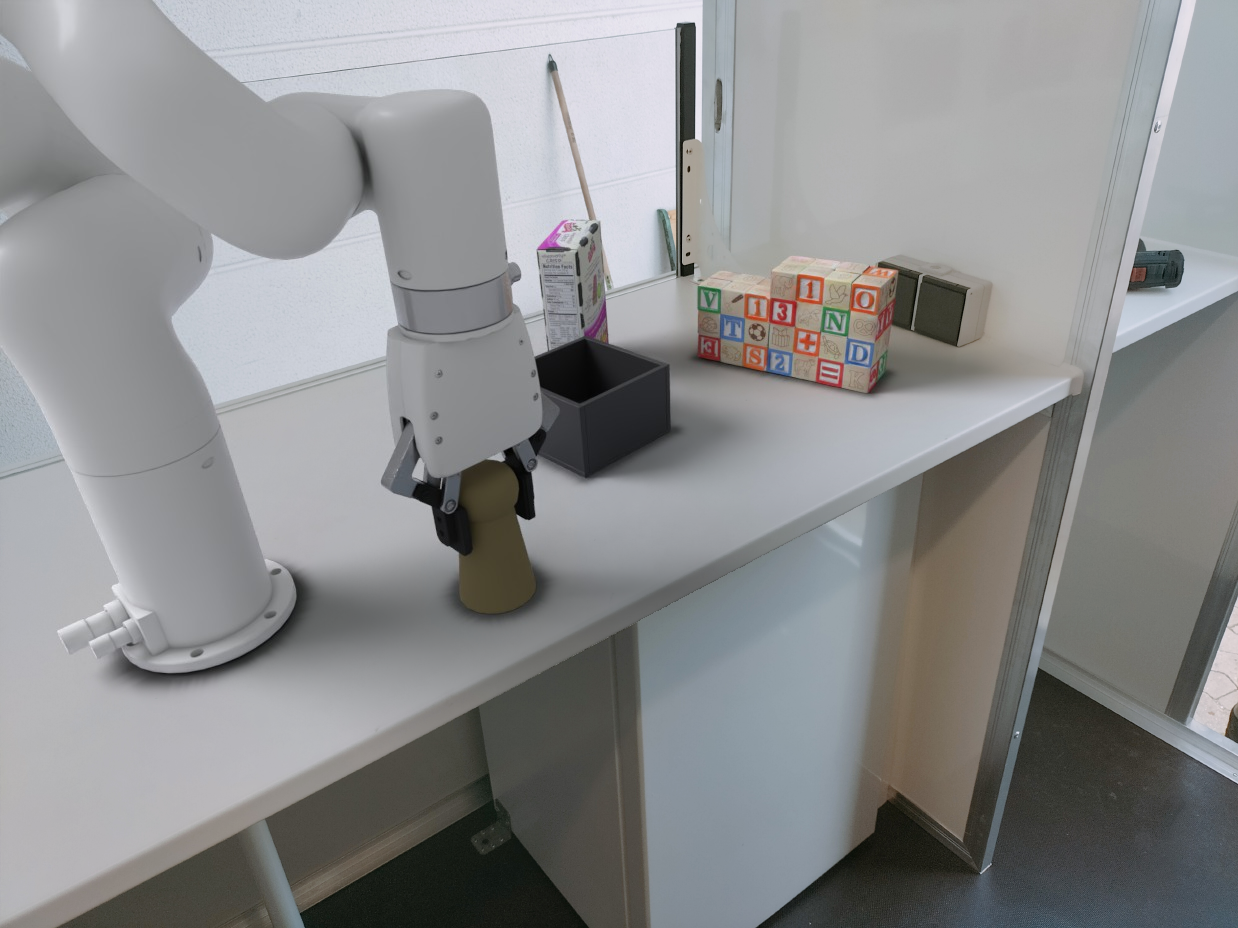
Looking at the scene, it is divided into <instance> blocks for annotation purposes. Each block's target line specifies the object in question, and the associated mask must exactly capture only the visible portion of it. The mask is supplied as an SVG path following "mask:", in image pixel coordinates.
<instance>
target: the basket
mask: <svg viewBox="0 0 1238 928" xmlns="http://www.w3.org/2000/svg"><path fill="white" fill-rule="evenodd" d="M534 357H535V362H536V367H537V372H538V378H539V384H540V391H541V393H543V394H544V395H545V396H546V397H547V398H549V399H550V400H551V401H552V402H553V403H555V404H556V405H557V406H558V407H559V414H558V416H557V418H556V419H555V421H554V423H553V424H552V426H551V427H550V429H549V431H546V439H545V441H544V443H543V445H542V447H541V449H540V451H539V453H538V454H537V456H538V455H539V456H540V457H543V458H544V459H546V460H548V461H551V462H552V463H554V464H556V465H558V466H560V467H563V468H565V469H567V470H569V471H571V472H573V473H575V474H576V475H579V476H580V477H582V478H584V479H585V478H588V477H590V476H591V475H593V474H595V473H597V472H598V471H601V470H602V469H605V468H606V467H608V466H610V465H612V464H613V463H616V462H617V461H618V460H620V459H622V458H625V457H626V456H629V455H630V454H631V453H633V452H635V451H637V450H638V449H640V448H643V447H644V446H646V445H648V444H650V443H652V442H653V441H655V440H657V439H659V438H660V437H662V436H664V435H666V434H668V433H670V432H671V431H672V428H671V426H672V423H671V421H672V420H671V419H672V418H671V370H670V369H671V366H670V364H669V363H666V362H663V361H661V360H657V359H654V358H652V357H649V356H646V355H643V354H640V353H637V352H634V351H632V350H629V349H626V348H623V347H620V346H617V345H614V344H612V343H606V342H603V341H600V340H597V339H594V338H591V337H588V336H583V337H581V338H578V339H576V340H574V341H571V342H569V343H566V344H564V345H561V346H559V347H557V348H554V349H552V350H549V351H548V350H547V351H545V352H542V353H540V354H537V355H534Z"/></svg>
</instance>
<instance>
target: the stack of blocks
mask: <svg viewBox="0 0 1238 928" xmlns="http://www.w3.org/2000/svg"><path fill="white" fill-rule="evenodd" d="M898 278H899V270H898V269H891V268H884V267H878V266H871V265H870V264H867V263H861V262H853V261H840V260H832V259H823V258H816V257H810V256H809V257H808V256H801V255H790V256H789V257H787V258H786V259H784V260H783V261H782V262H781V263H779V265H777V266H776V267H774V268H773V269H772V270H771V272H770V277H767V276H762V275H755V274H748V273H741V272H733V271H728V270H727V271H726V270H719V271H717V272H716V273H714V274H712V275H710V276H709V277H708V278H707V279H705V280H704V281H702V282H701V283H699V284H698V285H697V289H696V290H697V295H696V296H697V297H696V298H697V299H696V301H697V303H696V304H697V307H696V308H697V357H698V358H702V359H707V360H712V361H716V362H717V361H718V362H720V363H724V364H729V365H733V366H738V367H744V368H747V369H752V370H756V371H761V372H768V373H771V374H778V375H783V376H786V377H792V378H796V379H800V380H805V381H810V382H816V383H819V384H822V385H827V386H830V387H831V386H832V387H835V388H842V389H845V390H849V391H853V392H859V393H862V394H863V393H864V394H869V393H870V392H871V390H872V389H873V388H874V387H875V385H876V384H877V382H878V381H879V380H880V379H881V377H883V376H884V374H885V373H886V367H887V362H888V361H887V360H888V352H889V349H888V348H889V343H890V336H891V330H892V323H893V319H894V311H895V304H896V291H897V287H898V286H897V284H898Z"/></svg>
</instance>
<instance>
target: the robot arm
mask: <svg viewBox="0 0 1238 928" xmlns="http://www.w3.org/2000/svg"><path fill="white" fill-rule="evenodd" d="M0 36H2V37H3V38H4V39H5V40H6V41H7V42H9V43H10V44H11V45H12V46H13V47H14V48H15V49H16V50H17V52H18V53H19V54H20V56H21V58H22V59H23V61H24V62H25V63H26V65H27V67H28V68H29V69H28V68H27V67H25V66H23V65H21V64H19V63H17V62H15V61H14V60H11V59H9V58H7V57H4V56H3V55H0V212H1V213H2V214H3V215H5V216H6V217H8V218H7V219H6V220H5V221H3V222H2V223H1V224H0V349H1V350H2V351H3V353H4V354H5V356H6V357H7V358H8V360H9V361H10V362H11V364H12V365H13V366H14V368H15V369H16V371H17V372H18V374H19V375H20V377H21V378H22V380H23V381H24V383H25V385H27V387H28V389H29V390H30V392H31V394H32V396H33V398H34V399H35V401H36V403H37V405H38V406H39V408H40V410H41V412H42V414H43V416H44V418H45V420H46V422H47V424H48V426H49V428H50V430H51V432H52V435H53V437H54V439H55V441H56V443H57V445H58V448H59V450H60V452H61V455H62V457H63V459H64V462H65V464H66V466H67V467H68V468H69V470H70V473H71V476H72V477H73V480H74V482H75V484H76V486H77V489H78V491H79V493H80V495H81V498H82V500H83V503H84V505H85V507H86V509H87V511H88V513H89V515H90V518H91V520H92V523H93V525H94V528H95V530H96V532H97V534H98V536H99V539H100V542H101V543H102V545H103V548H104V551H105V552H106V554H107V556H108V559H109V562H110V564H111V566H112V568H113V570H114V573H115V575H116V577H117V580H118V583H115V584H113V585H112V586H111V590H112V593H113V595H114V597H115V599H113V600H112V601H110V602H108V603H105V604H103V605H102V608H103V610H102V611H100V612H97V613H95V614H93V615H91V616H88V617H86V618H82V619H79V620H78V621H75V622H73V623H71V624H68V625H66V626H64V627H62V628H60V629H57V630H56V633H57V635H58V637H59V639H60V642H61V643H62V645H63V647H64V648H65V650H66V651H67V653H68V655H73V654H75V653H77V652H79V651H81V650H83V649H85V648H87V647H89V648H90V649H91V652H92V654H93V655H94V656H95V658H96V659H97V660H100V659H101V658H103V657H106V656H108V655H110V654H112V653H114V652H116V651H117V650H118V649H120V648H121V650H122V653H123V655H124V657H126V658H127V659H128V660H129V662H130V663H131V664H133V665H134V666H137V667H138V668H139V669H141V670H142V669H143V670H146V671H150V672H153V673H163V674H164V673H165V674H181V673H190V672H196V671H202V670H206V669H209V668H213V667H216V666H220V665H222V664H225V663H228V662H231V661H232V660H236V659H237V658H240V657H241V656H243V655H245V654H247V653H249V652H251V651H252V650H255V649H256V648H257V647H259V646H261V645H262V644H263V643H264V642H267V641H268V640H269V639H270V638H272V636H273V635H275V633H277V632H278V631H279V630H280V629H281V627H282V626H283V625H284V624H285V623H286V621H287V620H288V619H289V618H290V616H291V615H292V613H293V610H294V608H295V606H296V601H297V589H296V584H295V582H294V578H293V576H292V574H291V573H290V572H289V570H288V569H287V568H286V567H284V566H283V565H282V564H280V563H278V562H276V561H274V560H272V559H267V558H264V555H263V551H262V549H261V545H260V543H259V542H260V541H259V539H258V536H257V533H256V530H255V526H254V524H253V521H252V517H251V514H250V511H249V508H248V505H247V502H246V498H245V496H244V493H243V490H242V487H241V483H240V480H239V478H238V474H237V472H236V469H235V465H234V462H233V459H232V457H231V456H232V455H231V452H230V449H229V446H228V444H227V441H226V437H225V435H224V431H223V428H222V425H221V422H220V420H219V417H218V413H217V412H216V408H215V405H214V401H213V399H212V397H211V394H210V392H209V389H208V386H207V384H206V382H205V380H204V378H203V376H202V374H201V372H200V370H199V368H198V367H197V365H196V364H195V362H194V360H193V359H192V358H191V356H190V354H189V353H188V352H187V350H186V349H185V347H184V345H183V344H182V343H181V340H180V339H179V337H178V335H177V333H176V330H175V328H174V325H173V322H172V319H173V316H174V315H175V314H176V313H177V311H178V310H179V309H180V307H182V305H184V303H186V302H187V300H188V299H190V297H191V296H193V295H194V294H195V292H197V290H198V289H199V288H200V287H201V286H202V285H203V283H204V282H205V280H206V278H207V276H208V275H209V272H210V270H211V267H212V264H213V260H214V240H213V236H214V237H217V238H218V239H220V240H222V241H224V242H225V243H227V244H229V245H231V246H233V247H235V248H237V249H239V250H242V251H243V252H244V251H245V252H246V253H249V254H251V255H255V256H258V257H261V258H266V259H270V260H279V261H289V260H297V259H304V258H306V257H309V256H311V255H313V254H316V253H318V252H320V251H321V250H323V249H324V248H326V247H327V246H329V245H330V244H331V243H332V242H333V241H334V240H335V239H336V238H337V237H338V236H339V235H340V234H341V232H342V230H344V228H345V226H346V225H347V224H348V222H349V221H350V220H351V219H352V218H355V217H357V216H358V215H359V214H361V213H363V212H365V211H372V212H373V213H375V215H376V216H377V220H378V225H379V231H380V235H381V240H382V244H383V251H384V256H385V257H384V258H385V262H386V267H387V272H388V277H389V283H390V289H391V294H392V299H393V304H394V309H395V314H396V319H397V325H395V326H393V327H390V328H388V330H387V334H386V350H385V353H386V354H385V367H386V368H385V370H386V372H385V374H386V389H387V400H388V409H389V416H390V417H389V418H390V423H391V425H390V426H391V430H392V437H393V443H394V449H393V453H392V455H391V457H390V459H389V461H388V463H387V466H386V467H385V470H384V472H383V473H382V476H381V479H380V485H381V487H383V488H385V489H386V490H387V491H389V492H391V493H392V494H394V495H398V496H400V497H405V498H408V499H413V500H416V501H418V502H420V503H423V504H425V505H427V506H429V507H430V508H431V512H432V518H433V523H434V528H435V533H436V537H437V538H438V540H439V542H440V543H441V544H442V545H444V546H445V547H450V548H451V549H452V550H454V551H455V552H457V553H458V554H459V553H460V554H462V555H463V556H467V555H469V554H470V553H472V550H473V546H472V540H471V534H470V528H469V522H468V516H467V511H466V509H465V508H464V507H463V506H461V505H459V504H458V500H459V491H460V483H461V475H462V471H463V470H465V469H467V468H469V467H471V466H473V465H475V464H477V463H479V462H481V461H483V460H485V459H489V458H492V457H494V456H496V455H497V454H501V456H502V458H503V459H504V460H502V461H501V462H503V463H505V464H506V465H508V466H509V467H510V468H511V469H512V470H513V471H514V473H515V475H516V478H517V480H518V484H519V492H518V499H517V502H516V504H515V505H514V508H515V512H516V515H517V517H519V518H521V519H523V520H525V521H531V520H533V519H535V518H536V516H537V515H536V507H535V490H534V481H533V473H532V472H534V471H536V469H537V468H538V464H539V460H538V453H539V451H540V449H541V447H542V445H543V443H544V441H545V439H546V431H549V429H550V427H551V426H552V424H553V423H554V421H555V419H556V418H557V416H558V414H559V407H558V406H557V405H556V404H555V403H553V402H552V401H551V400H550V399H549V398H547V397H546V396H545V395H544V394H543V393H541V391H540V384H539V378H538V372H537V367H536V362H535V353H534V349H533V345H532V341H531V338H530V334H529V331H528V328H527V325H526V322H525V319H524V316H523V314H522V311H521V308H520V307H519V306H518V305H517V304H515V303H514V299H513V289H512V286H513V285H514V284H515V283H517V282H520V281H521V279H522V271H521V268H520V266H519V265H518V263H516V262H514V261H511V262H509V258H508V249H507V242H506V241H507V239H506V233H505V224H504V223H505V222H504V215H503V206H502V198H501V197H502V196H501V189H500V180H499V170H498V163H497V155H496V146H495V138H494V137H495V136H494V130H493V124H492V117H491V113H490V111H489V108H488V106H487V104H486V103H485V102H484V101H483V99H482V98H480V96H479V95H477V94H475V93H474V92H469V91H466V90H462V89H452V88H451V89H450V88H449V89H448V88H433V89H432V88H431V89H418V90H408V91H401V92H396V93H391V94H386V95H382V96H368V95H367V96H365V95H351V94H340V93H329V92H315V91H299V92H298V91H297V92H290V93H285V94H282V95H279V96H277V97H275V98H272V99H270V100H268V101H266V100H265V99H264V98H263V97H261V96H260V95H258V94H257V93H255V92H254V91H253V90H252V89H250V88H249V87H248V86H246V85H245V84H244V83H242V82H241V81H240V80H238V79H237V78H236V77H235V76H234V75H233V74H232V73H231V72H229V71H227V70H226V69H225V68H224V67H223V66H221V65H220V64H219V63H218V62H217V61H216V60H214V59H213V58H212V57H211V56H210V55H208V54H207V53H206V52H205V51H204V50H203V49H201V48H200V47H199V46H198V45H197V44H196V43H194V42H193V40H191V39H190V38H189V37H188V36H187V35H186V34H185V33H184V32H183V31H181V30H180V29H179V28H178V26H177V25H176V24H174V23H173V21H172V20H171V19H169V18H168V16H167V15H166V14H165V13H164V11H162V9H160V7H159V6H158V5H157V4H156V3H155V1H154V0H0ZM420 459H421V461H422V463H424V464H423V476H422V480H421V479H420V478H417V477H413V473H414V471H415V469H416V467H417V464H418V462H419V460H420Z"/></svg>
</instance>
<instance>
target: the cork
mask: <svg viewBox="0 0 1238 928" xmlns="http://www.w3.org/2000/svg"><path fill="white" fill-rule="evenodd" d="M518 492H519V484H518V480H517V478H516V475H515V473H514V471H513V470H512V469H511V468H510V467H509V466H508V465H506V464H505V463H503V462H502V461H500V460H497V459H489V458H487V459H485V460H483V461H481V462H479V463H477V464H475V465H473V466H471V467H469V468H467V469H465V470H463V471H462V475H461V483H460V491H459V500H458V504H459V505H461V506H463V507H464V508H465V509H466V511H467V516H468V522H469V528H470V534H471V540H472V546H473V550H472V553H470V554H469V555H467V556H463V555H462V554H460V553H459V552H458V577H459V578H458V588H459V589H458V590H459V593H458V595H459V598H460V601H461V603H462V604H463V605H464V606H465V607H466V608H467V609H468V610H472V611H473V612H475V613H480V614H487V615H494V614H495V615H496V614H503V613H509V612H510V611H514V610H516V609H518V608H520V607H522V606H523V605H525V604H526V603H527V602H528V601H529V600H531V599H532V597H533V596H534V594H535V592H536V588H537V581H536V578H535V574H534V571H533V568H532V563H531V561H530V558H529V553H528V550H527V546H526V543H525V540H524V539H525V538H524V535H523V532H522V529H521V525H520V522H519V519H518V515H516V512H515V508H514V505H515V504H516V502H517V499H518Z"/></svg>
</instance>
